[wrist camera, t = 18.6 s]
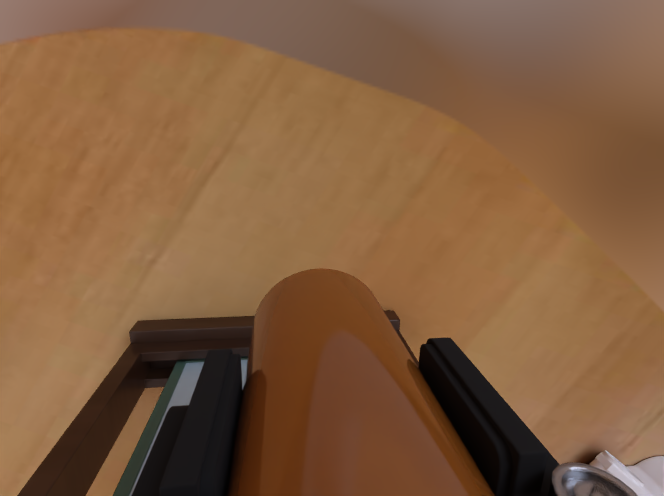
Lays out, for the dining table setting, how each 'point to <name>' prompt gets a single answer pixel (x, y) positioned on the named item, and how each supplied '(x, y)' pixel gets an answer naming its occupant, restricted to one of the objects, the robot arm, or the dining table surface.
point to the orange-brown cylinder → (340, 402)
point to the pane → (172, 395)
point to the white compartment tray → (635, 473)
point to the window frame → (136, 394)
